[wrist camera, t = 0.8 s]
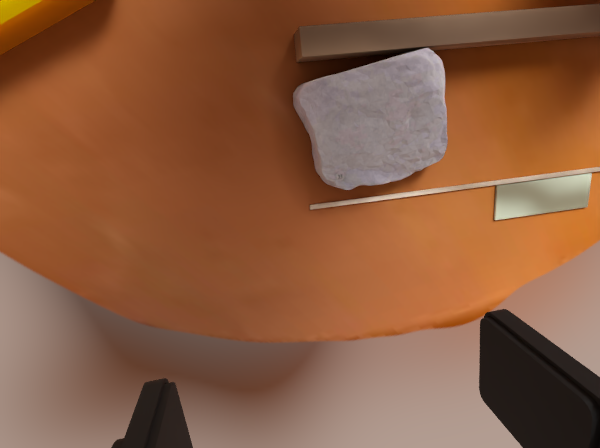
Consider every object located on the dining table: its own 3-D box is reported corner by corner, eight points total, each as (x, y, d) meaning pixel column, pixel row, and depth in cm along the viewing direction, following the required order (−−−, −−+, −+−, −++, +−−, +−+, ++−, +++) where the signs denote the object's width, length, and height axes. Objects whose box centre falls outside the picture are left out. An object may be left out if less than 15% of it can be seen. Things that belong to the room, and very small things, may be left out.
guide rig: (293, 35, 30) (299, 26, 27) (631, 8, 33) (667, -2, 30) (313, 245, 35) (319, 257, 32) (603, 203, 38) (632, 211, 35)
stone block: (431, 150, 36) (422, 38, 31) (458, 167, 32) (452, 40, 27) (313, 187, 36) (285, 80, 31) (325, 209, 32) (294, 89, 27)
